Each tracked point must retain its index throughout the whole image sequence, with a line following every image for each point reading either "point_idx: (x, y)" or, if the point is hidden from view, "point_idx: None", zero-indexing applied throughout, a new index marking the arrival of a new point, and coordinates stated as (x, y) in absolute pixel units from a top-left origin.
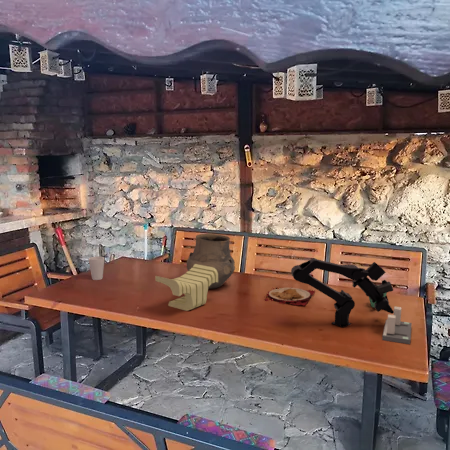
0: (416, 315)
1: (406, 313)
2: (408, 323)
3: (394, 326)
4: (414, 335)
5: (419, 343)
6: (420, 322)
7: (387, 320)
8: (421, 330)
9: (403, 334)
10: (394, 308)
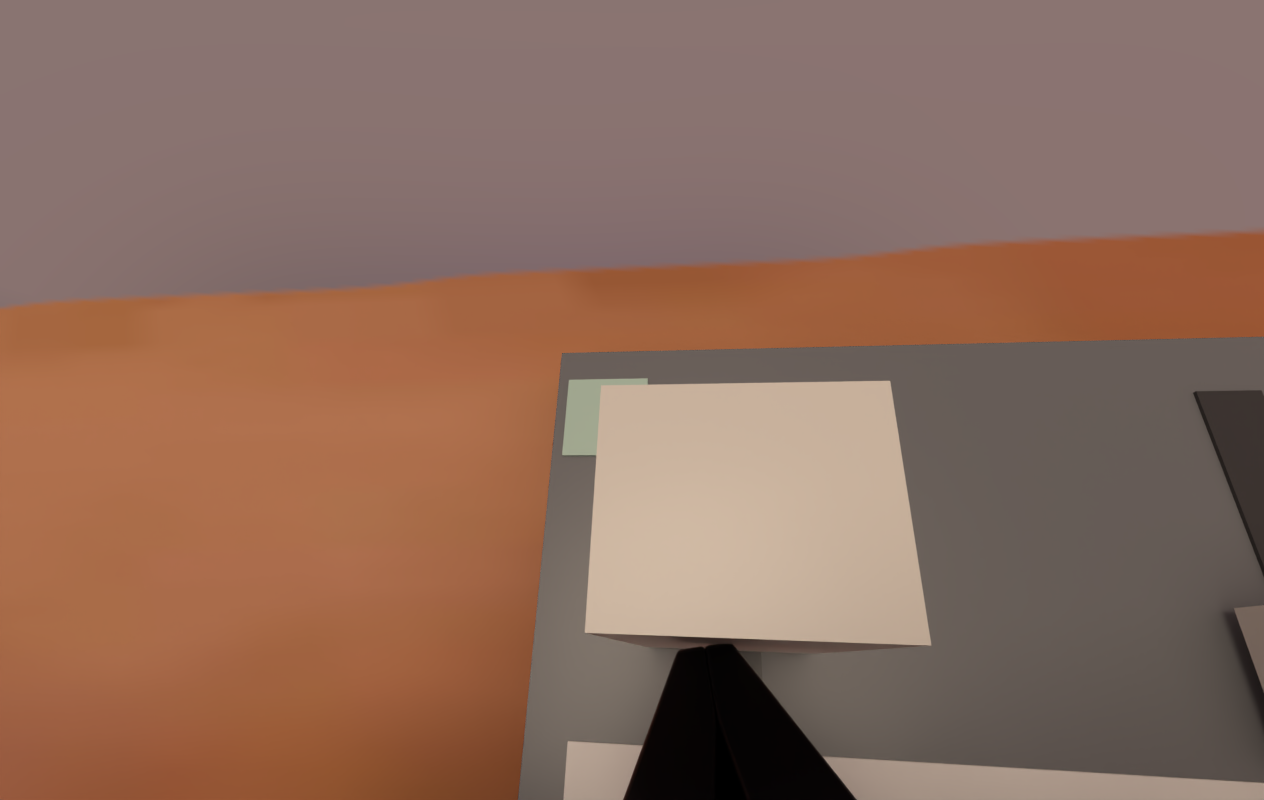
0: (131, 339)
1: (51, 458)
2: None
3: None
4: (909, 331)
5: (1186, 265)
6: (380, 288)
7: (589, 779)
8: (669, 266)
9: (1227, 446)
10: (861, 622)
